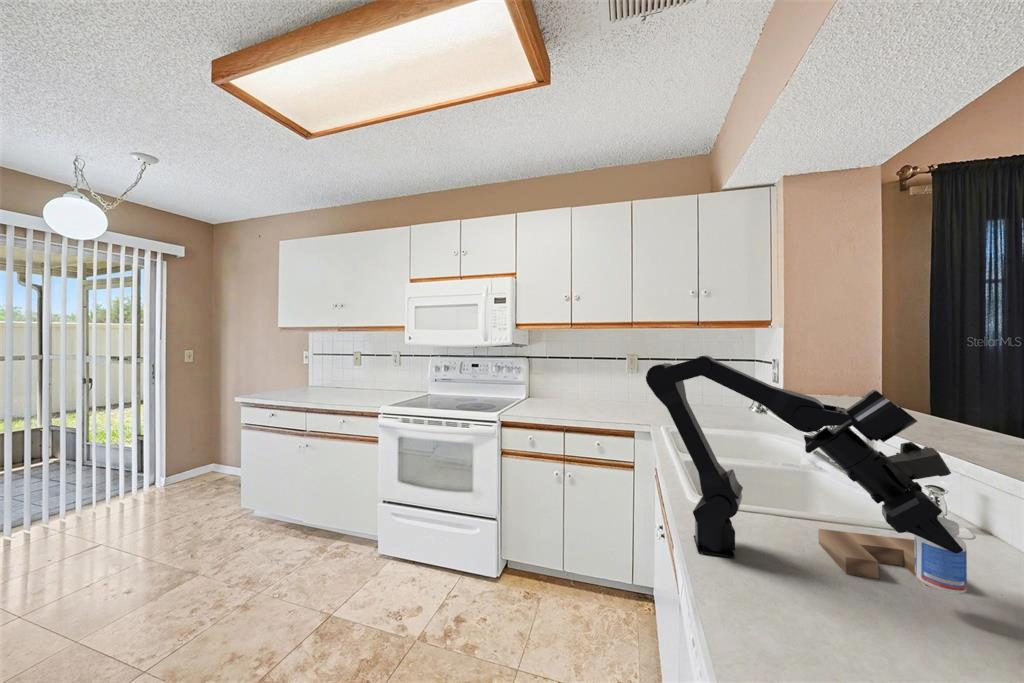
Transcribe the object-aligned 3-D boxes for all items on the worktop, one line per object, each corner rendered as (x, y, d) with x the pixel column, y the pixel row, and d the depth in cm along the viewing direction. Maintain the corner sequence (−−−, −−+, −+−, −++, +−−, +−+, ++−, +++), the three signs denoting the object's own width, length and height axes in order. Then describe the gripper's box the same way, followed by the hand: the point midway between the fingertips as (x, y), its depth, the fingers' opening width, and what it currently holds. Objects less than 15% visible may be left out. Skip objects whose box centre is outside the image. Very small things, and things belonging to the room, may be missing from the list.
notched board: (845, 573, 69) (845, 557, 69) (818, 543, 80) (818, 528, 80) (962, 590, 64) (962, 572, 64) (917, 555, 75) (916, 540, 75)
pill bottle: (978, 597, 56) (978, 530, 56) (934, 592, 57) (934, 527, 57) (944, 574, 62) (944, 514, 62) (905, 570, 63) (905, 511, 63)
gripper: (920, 442, 54) (1046, 544, 48) (892, 419, 69) (985, 494, 63) (846, 485, 59) (952, 584, 52) (835, 455, 74) (916, 528, 68)
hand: (953, 543), depth 59 cm, fingers closed on pill bottle, 5 cm apart
